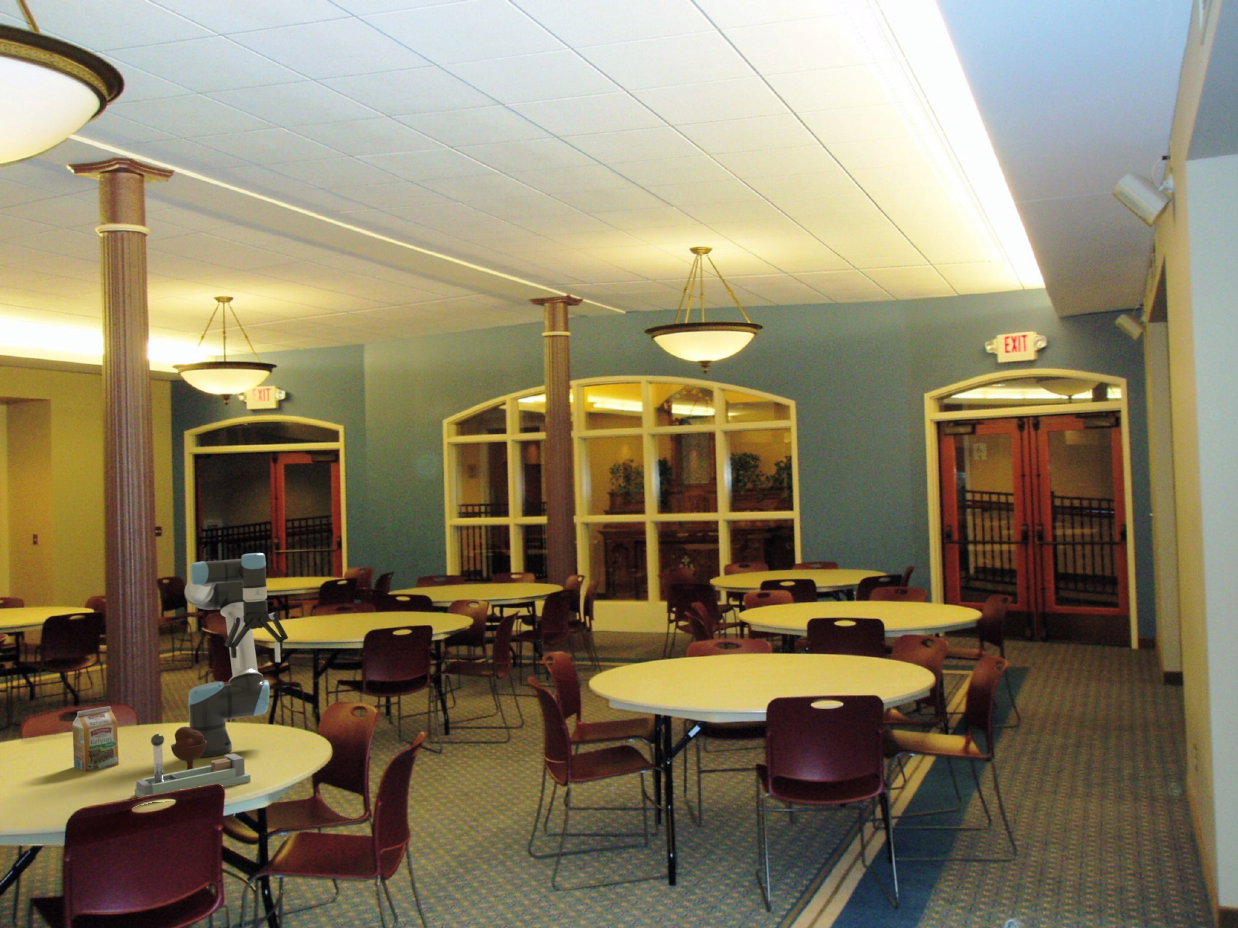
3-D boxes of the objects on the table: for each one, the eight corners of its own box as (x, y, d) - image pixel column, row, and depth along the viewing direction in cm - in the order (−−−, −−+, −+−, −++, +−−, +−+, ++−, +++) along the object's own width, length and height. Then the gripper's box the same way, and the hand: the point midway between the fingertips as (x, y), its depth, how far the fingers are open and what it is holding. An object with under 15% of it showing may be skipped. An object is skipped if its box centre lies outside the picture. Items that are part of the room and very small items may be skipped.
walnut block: (211, 775, 332) (210, 760, 332) (226, 772, 335) (225, 758, 335) (216, 778, 328) (215, 763, 328) (231, 775, 331) (230, 760, 331)
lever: (148, 786, 321) (146, 733, 322) (173, 781, 326) (171, 729, 326) (155, 791, 316) (153, 736, 316) (180, 785, 320) (178, 732, 321)
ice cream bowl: (186, 779, 337) (185, 731, 337) (164, 775, 342) (162, 728, 343) (215, 771, 346) (213, 724, 346) (193, 767, 351) (191, 721, 352)
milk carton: (107, 760, 368) (104, 704, 369) (118, 764, 361) (116, 707, 361) (74, 766, 361) (71, 709, 361) (85, 771, 353) (82, 713, 354)
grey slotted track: (134, 794, 322) (133, 770, 322) (235, 773, 341) (234, 751, 341) (147, 803, 312) (146, 778, 312) (250, 781, 330) (249, 758, 331)
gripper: (220, 604, 346) (223, 671, 345) (296, 596, 362) (298, 660, 361) (213, 603, 352) (215, 668, 351) (287, 595, 367) (289, 658, 367)
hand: (257, 664), depth 356 cm, fingers open, 13 cm apart
